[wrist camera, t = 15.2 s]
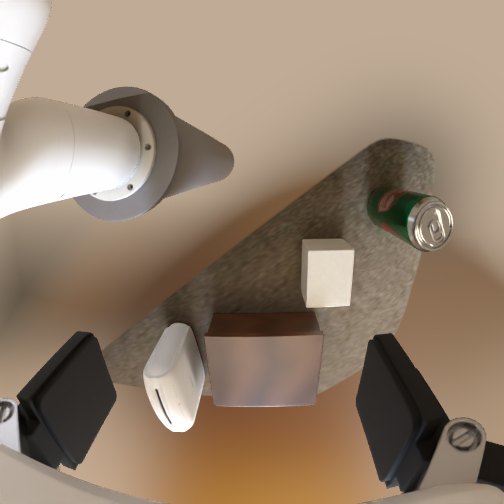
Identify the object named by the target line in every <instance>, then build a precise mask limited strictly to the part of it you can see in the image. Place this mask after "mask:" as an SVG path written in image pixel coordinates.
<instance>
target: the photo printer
mask: <svg viewBox="0 0 504 504" xmlns="http://www.w3.org/2000/svg"><path fill="white" fill-rule="evenodd" d="M143 377H144V383H145V388H146V391H147V394H148V397H149V400H150V402H151V404H152V407H153V408H154V411H155V412H156V414H157V416H158V417H159V419H160V420H161V421H162V423H163V424H164V425H165V426H166V427H167V428H169V429H170V430H172V431H173V432H175V431H180V432H184V431H186V430H188V429H189V428H190V427H191V426H192V425H193V423H194V420H195V417H196V413H197V409H198V405H199V401H200V396H201V392H202V388H203V384H204V379H205V373H204V368H203V364H202V360H201V356H200V353H199V349H198V346H197V343H196V340H195V337H194V334H193V331H192V329H191V327H190V326H188V325H186V324H183V323H174V324H172V325H170V326H169V327H167V328H166V329H165V330H164V332H163V334H162V336H161V338H160V340H159V342H158V343H157V345H156V347H155V349H154V351H153V353H152V355H151V356H150V358H149V360H148V362H147V364H146V366H145V368H144V371H143Z"/></svg>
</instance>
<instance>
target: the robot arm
mask: <svg viewBox="0 0 504 504" xmlns="http://www.w3.org/2000/svg"><path fill="white" fill-rule="evenodd" d="M50 11H51V0H0V218H2V217H4V216H7V215H9V214H12V213H14V212H17V211H20V210H24V209H27V208H31V207H34V206H38V205H42V204H46V203H50V202H55V201H59V200H63V199H67V198H71V197H76V196H81V195H85V194H90V195H91V196H93V197H95V198H97V199H100V200H104V201H115V200H120V199H123V198H126V197H128V196H130V195H132V194H133V193H135V192H136V191H137V190H138V189H140V188H141V187H142V185H143V184H144V183H145V182H146V180H147V179H148V177H149V175H150V173H151V171H152V169H153V166H154V163H155V157H156V140H155V135H154V132H153V129H152V127H151V125H150V124H149V122H148V120H147V119H146V118H145V117H144V116H143V115H142V114H140V113H139V112H137V111H136V110H134V109H131V108H128V107H124V106H112V107H108V108H105V109H103V110H100V111H96V110H92V109H88V108H84V107H80V106H76V105H73V104H68V103H64V102H60V101H56V100H51V99H47V98H40V97H31V98H25V99H21V100H18V101H15V102H12V103H11V100H12V97H13V95H14V92H15V90H16V87H17V85H18V82H19V80H20V78H21V75H22V73H23V71H24V69H25V67H26V64H27V62H28V60H29V58H30V56H31V54H32V52H33V50H34V48H35V46H36V44H37V42H38V40H39V38H40V36H41V34H42V32H43V30H44V28H45V25H46V23H47V21H48V18H49V15H50ZM130 113H131V114H130ZM129 114H130V116H129ZM150 145H151V149H149V146H150ZM132 185H133V188H132ZM17 398H18V400H19V402H20V404H19V405H17V404H16V402H15V401H14V400H12V399H9V398H1V399H0V504H167V503H162V502H157V501H152V500H148V499H143V498H139V497H135V496H131V495H127V494H124V493H120V492H117V491H113V490H110V489H107V488H103V487H100V486H97V485H94V484H91V483H88V482H86V481H83V480H80V479H78V478H75V477H73V476H70V475H67V474H65V473H62V472H60V469H59V465H60V463H62V464H63V466H66V467H68V468H71V469H73V470H75V469H76V467H77V465H78V464H80V463H82V462H83V460H84V458H85V456H86V454H87V452H88V450H89V449H90V447H91V445H92V443H93V441H94V439H95V437H96V436H97V434H98V432H99V430H100V428H101V426H102V425H103V423H104V421H105V419H106V417H107V416H108V414H109V412H110V410H111V408H112V407H113V405H114V403H115V401H116V391H115V388H114V386H113V383H112V380H111V378H110V375H109V372H108V369H107V366H106V364H105V361H104V358H103V355H102V352H101V349H100V345H99V342H98V340H97V338H95V337H94V335H93V334H92V333H89V332H81V331H78V332H76V333H75V334H74V335H73V336H72V337H71V338H70V339H69V340H68V341H67V342H66V343H65V344H64V345H63V346H62V347H61V348H60V349H59V350H58V351H57V352H56V353H55V354H54V355H53V357H52V358H51V359H50V360H49V361H48V362H47V363H46V364H45V365H44V366H43V367H42V368H41V369H40V371H38V372H37V374H36V375H35V376H34V377H33V378H32V379H31V380H30V381H29V382H28V384H27V385H26V386H25V387H24V388H23V389H22V390H21V391H20V393H19V394H18V395H17ZM356 407H357V410H358V413H359V416H360V419H361V422H362V425H363V428H364V432H365V434H366V438H367V441H368V444H369V447H370V451H371V454H372V457H373V460H374V464H375V467H376V470H377V474H378V477H379V480H380V481H381V482H383V481H385V484H386V487H387V489H388V488H391V487H395V486H399V488H400V491H402V494H401V495H397V496H392V497H388V498H383V499H379V500H374V501H369V502H364V503H359V504H504V446H502V445H499V444H495V443H492V442H488V441H486V433H485V430H484V428H483V427H482V425H481V424H480V423H478V422H477V421H475V420H473V419H470V418H465V417H461V418H455V419H453V420H451V421H450V420H449V418H448V416H447V415H446V413H445V412H444V410H443V408H442V407H441V405H440V403H439V402H438V400H437V399H436V397H435V395H434V394H433V392H432V391H431V389H430V387H429V386H428V384H427V383H426V381H425V380H424V378H423V377H422V375H421V373H420V372H419V371H418V370H417V368H415V367H414V365H413V363H412V362H411V360H410V359H409V357H408V356H407V354H406V353H405V352H404V350H403V349H402V347H401V346H400V344H399V343H398V341H397V340H396V338H395V337H394V335H393V334H391V333H389V334H380V335H375V336H374V338H373V340H369V342H368V347H367V352H366V357H365V362H364V367H363V371H362V376H361V380H360V384H359V389H358V393H357V397H356Z"/></svg>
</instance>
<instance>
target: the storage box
mask: <svg viewBox="0 0 504 504" xmlns="http://www.w3.org/2000/svg"><path fill="white" fill-rule="evenodd" d="M323 339H324V333H323V331H320V328H319V325H318V322H317V319H316V316H315V313H314V312H292V313H237V314H222V313H214V315H213V318H212V321H211V324H210V327H209V330H208V333H205V335H204V341H205V348H206V355H207V362H208V369H209V376H210V383H211V389H212V395H213V401H214V405H215V406H241V407H245V406H246V407H265V406H266V407H267V406H297V405H312V404H316V397H317V390H318V382H319V374H320V366H321V357H322V348H323Z"/></svg>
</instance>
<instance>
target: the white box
mask: <svg viewBox="0 0 504 504" xmlns="http://www.w3.org/2000/svg"><path fill="white" fill-rule="evenodd" d="M353 263H354V249H353V248H352V247H351V246H350V245H349V244H348V243H347V242H346V241H344V240H343V239H302V270H301V291H302V295H303V298H304V302H305V305H306V308H311V307H333V306H349V305H350V297H351V287H352V276H353Z"/></svg>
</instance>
